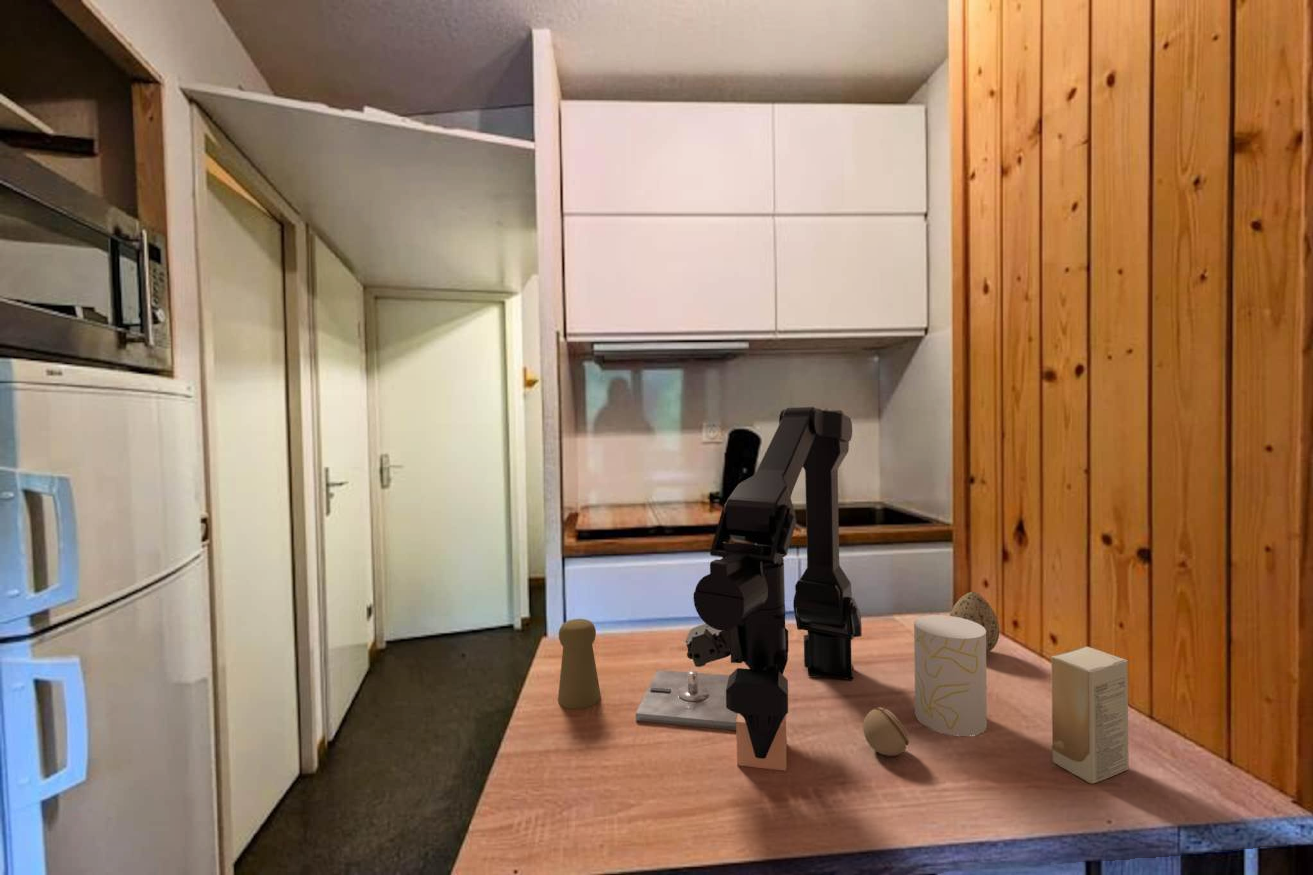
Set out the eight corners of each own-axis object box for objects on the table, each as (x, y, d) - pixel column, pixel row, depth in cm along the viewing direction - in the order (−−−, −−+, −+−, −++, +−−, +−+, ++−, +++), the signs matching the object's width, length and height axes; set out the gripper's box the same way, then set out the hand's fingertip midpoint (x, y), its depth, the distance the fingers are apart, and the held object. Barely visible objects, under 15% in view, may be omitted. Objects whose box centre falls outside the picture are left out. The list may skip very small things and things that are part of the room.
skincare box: (1088, 749, 66) (1088, 644, 66) (1130, 771, 62) (1131, 659, 62) (1049, 762, 64) (1048, 654, 63) (1090, 785, 60) (1090, 670, 59)
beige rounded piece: (906, 770, 63) (905, 725, 63) (859, 757, 66) (858, 714, 66) (912, 747, 68) (912, 705, 67) (868, 736, 70) (867, 695, 70)
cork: (593, 710, 78) (590, 630, 78) (551, 707, 79) (548, 628, 79) (606, 689, 84) (603, 615, 84) (566, 686, 85) (564, 613, 85)
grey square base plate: (744, 682, 85) (743, 656, 85) (735, 730, 72) (735, 698, 72) (658, 676, 88) (657, 650, 88) (635, 720, 75) (634, 690, 75)
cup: (905, 721, 73) (904, 628, 73) (927, 697, 79) (926, 610, 79) (976, 744, 68) (975, 644, 67) (994, 716, 74) (993, 624, 73)
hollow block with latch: (786, 743, 69) (785, 699, 69) (786, 770, 64) (785, 723, 64) (741, 738, 70) (740, 696, 70) (737, 765, 65) (736, 719, 65)
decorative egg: (1003, 651, 93) (1003, 590, 93) (994, 667, 88) (994, 602, 87) (955, 641, 98) (954, 583, 97) (943, 655, 92) (943, 593, 92)
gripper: (702, 577, 77) (705, 691, 78) (675, 627, 59) (679, 775, 60) (787, 580, 75) (789, 698, 75) (786, 633, 57) (789, 788, 57)
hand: (762, 734), depth 67 cm, fingers open, 9 cm apart
